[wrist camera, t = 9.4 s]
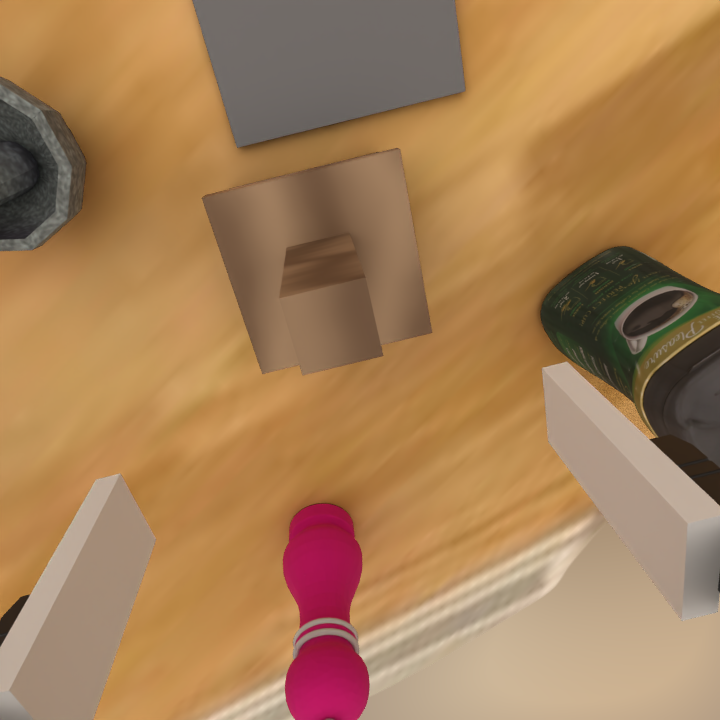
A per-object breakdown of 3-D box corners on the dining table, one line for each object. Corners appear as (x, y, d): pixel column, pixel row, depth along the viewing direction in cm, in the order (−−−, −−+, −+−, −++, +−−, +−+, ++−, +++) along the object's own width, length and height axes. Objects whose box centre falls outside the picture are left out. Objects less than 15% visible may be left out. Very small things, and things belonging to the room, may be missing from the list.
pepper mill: (365, 545, 53) (395, 766, 35) (296, 562, 53) (291, 791, 35) (348, 490, 50) (371, 702, 32) (275, 509, 50) (257, 730, 32)
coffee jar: (567, 367, 46) (714, 509, 30) (522, 302, 43) (658, 419, 27) (665, 299, 45) (881, 410, 28) (625, 226, 42) (841, 302, 25)
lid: (263, 366, 37) (247, 460, 27) (205, 195, 32) (158, 232, 22) (428, 326, 37) (474, 405, 27) (396, 148, 32) (438, 163, 22)
